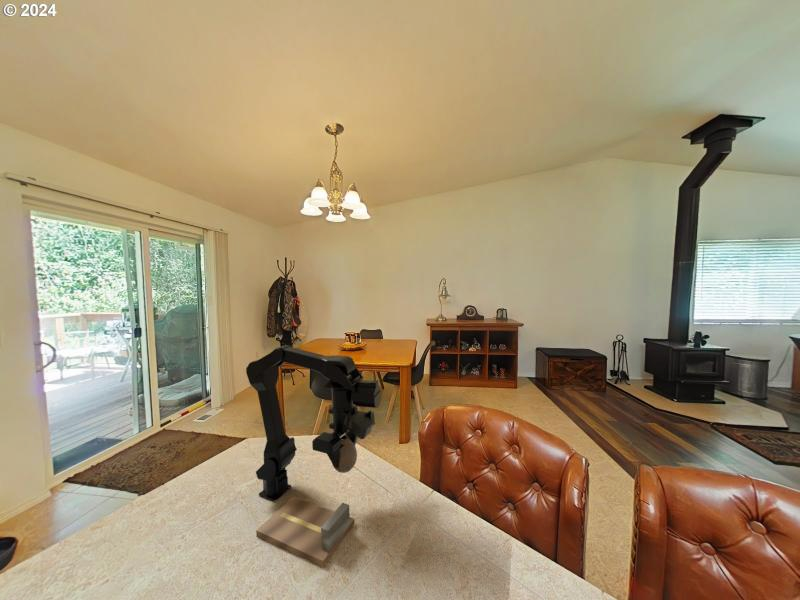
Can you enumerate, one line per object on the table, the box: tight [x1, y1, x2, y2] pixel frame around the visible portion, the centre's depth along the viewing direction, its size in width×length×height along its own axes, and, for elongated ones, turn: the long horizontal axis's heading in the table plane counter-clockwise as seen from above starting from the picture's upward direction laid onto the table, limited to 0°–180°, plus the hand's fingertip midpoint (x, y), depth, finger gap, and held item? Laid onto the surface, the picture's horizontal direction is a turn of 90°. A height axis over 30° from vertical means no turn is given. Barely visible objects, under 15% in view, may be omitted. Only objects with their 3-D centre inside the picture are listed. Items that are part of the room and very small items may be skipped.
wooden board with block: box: [255, 496, 355, 569], centre depth 69 cm, size 20×12×6 cm, turn 66°
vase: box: [331, 434, 358, 474], centre depth 77 cm, size 7×7×9 cm
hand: (344, 460), depth 77 cm, fingers closed on vase, 6 cm apart
